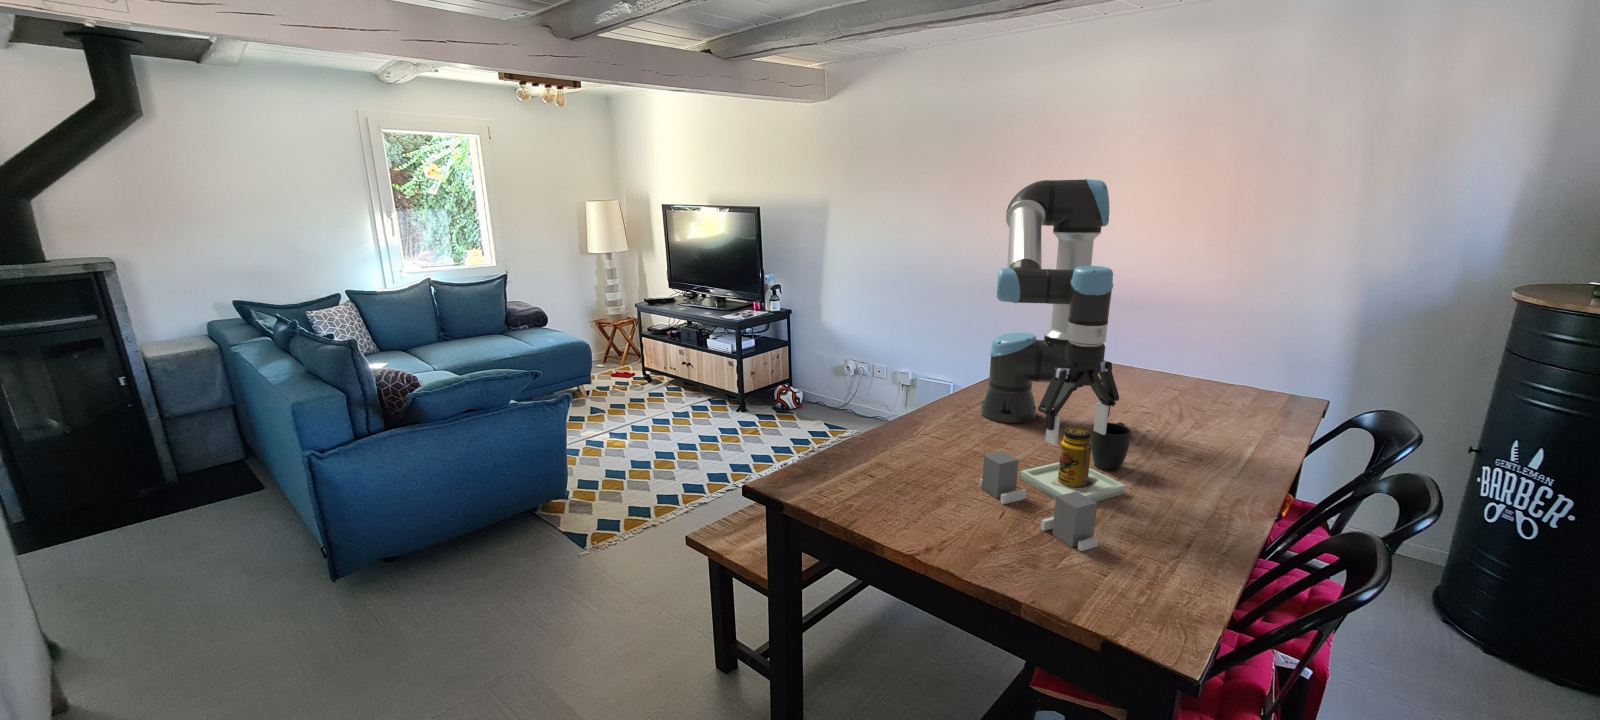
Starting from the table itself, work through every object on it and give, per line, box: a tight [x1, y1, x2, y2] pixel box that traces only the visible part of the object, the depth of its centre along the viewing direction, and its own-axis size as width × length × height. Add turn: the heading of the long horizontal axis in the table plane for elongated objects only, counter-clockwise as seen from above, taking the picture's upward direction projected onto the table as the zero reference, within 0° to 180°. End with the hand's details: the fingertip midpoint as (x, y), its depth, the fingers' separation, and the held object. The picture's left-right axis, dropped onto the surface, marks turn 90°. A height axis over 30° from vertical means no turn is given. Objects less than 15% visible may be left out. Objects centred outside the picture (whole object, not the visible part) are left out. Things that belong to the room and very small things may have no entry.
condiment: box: [1051, 427, 1097, 492], centre depth 143 cm, size 7×8×12 cm
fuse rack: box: [978, 450, 1099, 552], centre depth 132 cm, size 29×6×8 cm, turn 23°
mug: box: [1090, 421, 1132, 472], centre depth 154 cm, size 8×12×10 cm
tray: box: [1019, 461, 1126, 502], centre depth 144 cm, size 15×15×2 cm
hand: (1075, 437), depth 142 cm, fingers open, 13 cm apart
